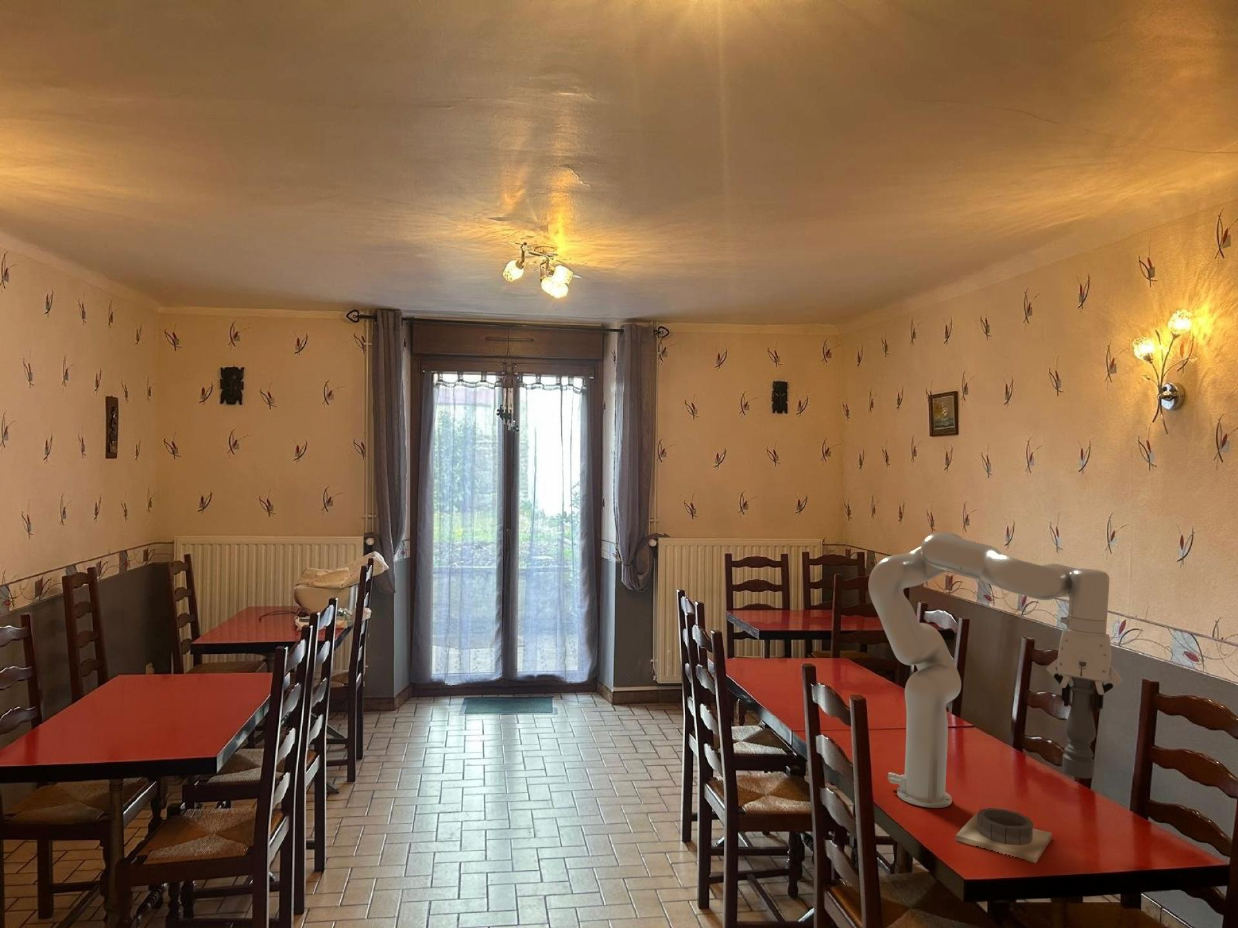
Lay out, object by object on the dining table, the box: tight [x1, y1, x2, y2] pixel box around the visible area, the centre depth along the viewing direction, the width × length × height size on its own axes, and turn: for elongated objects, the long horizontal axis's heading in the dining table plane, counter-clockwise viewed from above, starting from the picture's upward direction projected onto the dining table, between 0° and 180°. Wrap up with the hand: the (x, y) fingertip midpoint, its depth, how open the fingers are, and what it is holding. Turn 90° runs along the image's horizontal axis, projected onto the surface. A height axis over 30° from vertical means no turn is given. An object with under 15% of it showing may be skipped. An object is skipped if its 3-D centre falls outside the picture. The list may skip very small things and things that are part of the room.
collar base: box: [955, 807, 1053, 864], centre depth 189 cm, size 16×16×5 cm
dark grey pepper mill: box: [1061, 661, 1097, 779], centre depth 190 cm, size 6×6×25 cm
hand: (1081, 707), depth 190 cm, fingers closed on dark grey pepper mill, 5 cm apart
